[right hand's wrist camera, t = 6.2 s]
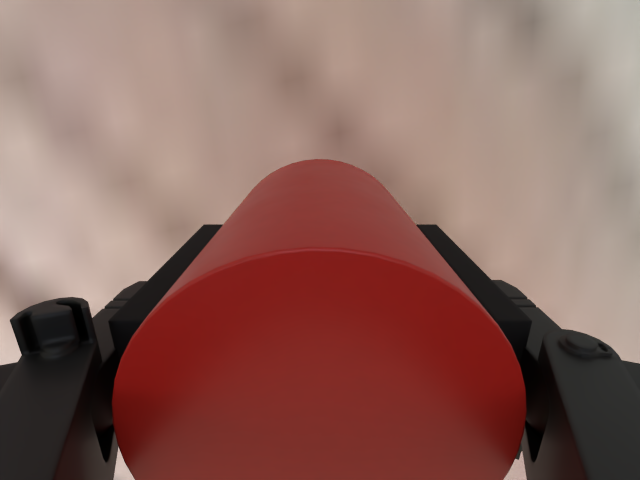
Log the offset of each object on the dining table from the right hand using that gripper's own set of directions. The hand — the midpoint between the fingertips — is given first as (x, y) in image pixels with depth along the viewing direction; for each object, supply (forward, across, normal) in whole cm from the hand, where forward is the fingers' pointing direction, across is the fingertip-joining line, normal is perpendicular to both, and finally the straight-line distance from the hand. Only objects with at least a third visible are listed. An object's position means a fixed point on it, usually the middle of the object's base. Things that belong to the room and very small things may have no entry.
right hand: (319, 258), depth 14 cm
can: (+1, 0, 0) cm, 1 cm away
